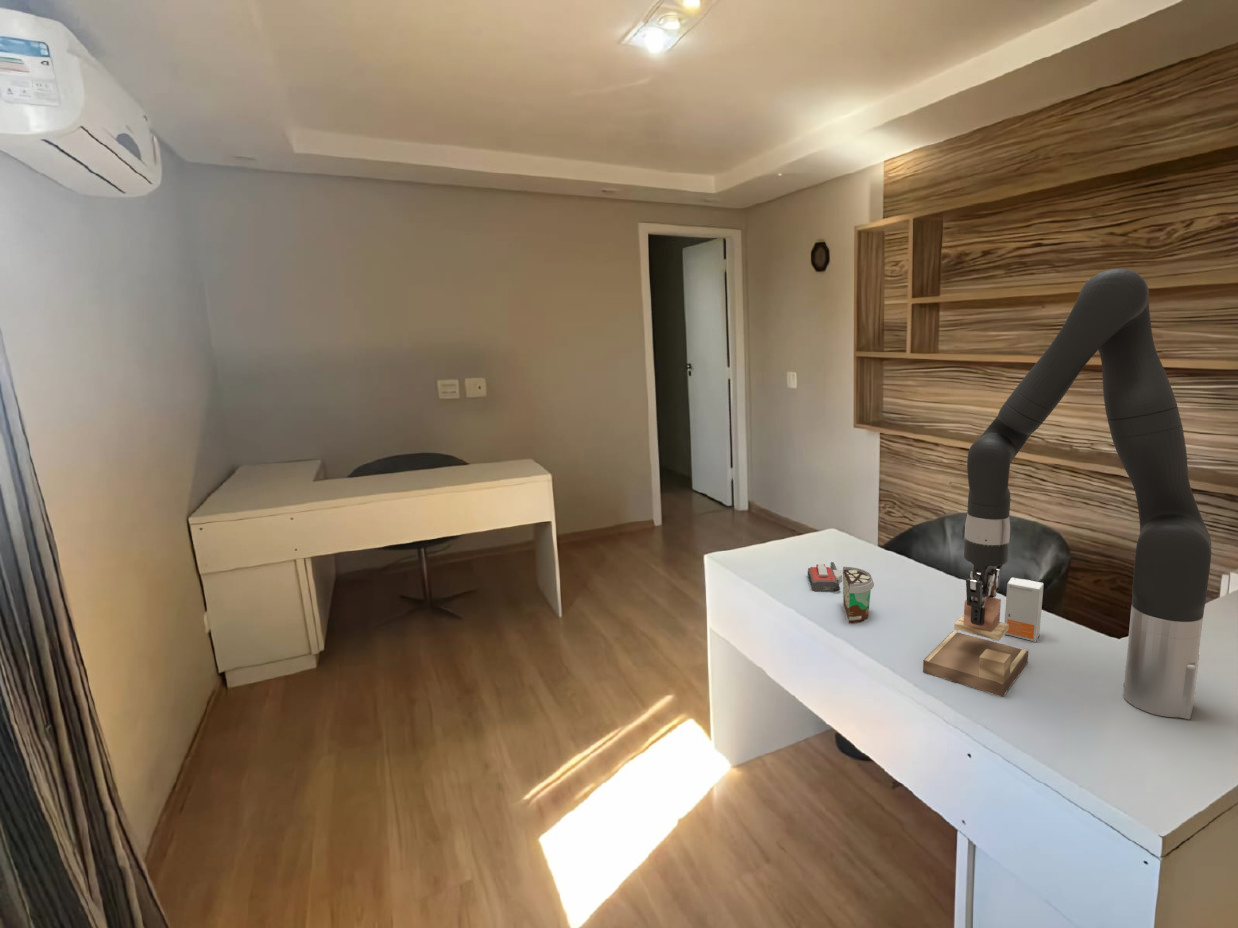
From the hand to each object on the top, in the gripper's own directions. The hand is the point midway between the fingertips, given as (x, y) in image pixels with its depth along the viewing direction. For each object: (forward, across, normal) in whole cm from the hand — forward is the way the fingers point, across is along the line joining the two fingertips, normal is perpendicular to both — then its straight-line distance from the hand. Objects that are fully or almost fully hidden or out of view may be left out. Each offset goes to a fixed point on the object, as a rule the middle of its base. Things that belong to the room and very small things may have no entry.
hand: (982, 618), depth 127 cm
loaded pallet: (+2, 0, 0) cm, 2 cm away
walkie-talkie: (+10, +22, +45) cm, 51 cm away
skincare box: (+9, +17, -3) cm, 20 cm away
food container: (+10, +6, +28) cm, 30 cm away
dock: (+9, -3, 0) cm, 10 cm away
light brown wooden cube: (+6, -9, -5) cm, 12 cm away
